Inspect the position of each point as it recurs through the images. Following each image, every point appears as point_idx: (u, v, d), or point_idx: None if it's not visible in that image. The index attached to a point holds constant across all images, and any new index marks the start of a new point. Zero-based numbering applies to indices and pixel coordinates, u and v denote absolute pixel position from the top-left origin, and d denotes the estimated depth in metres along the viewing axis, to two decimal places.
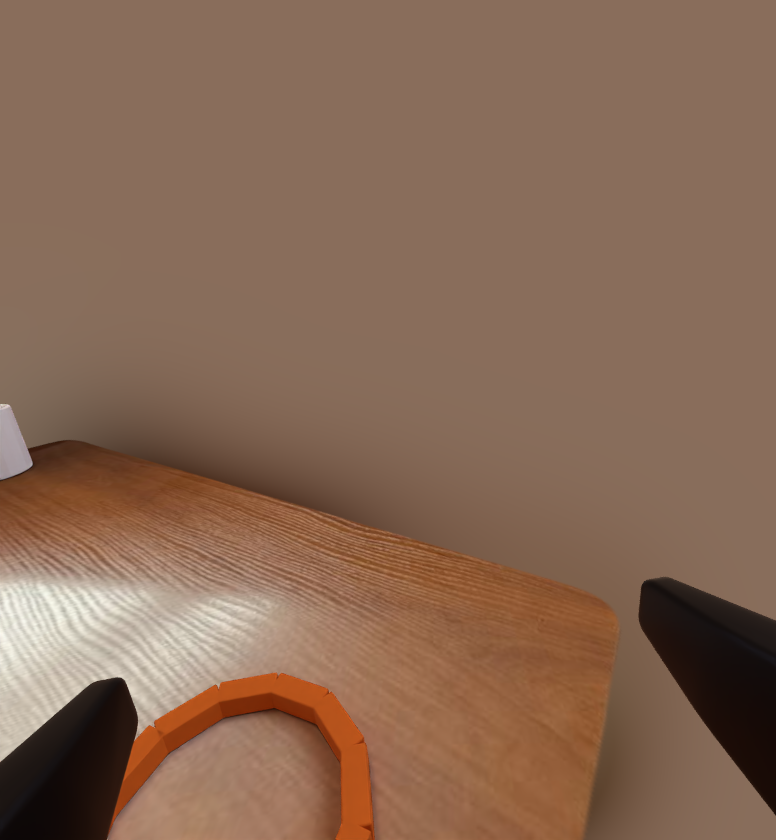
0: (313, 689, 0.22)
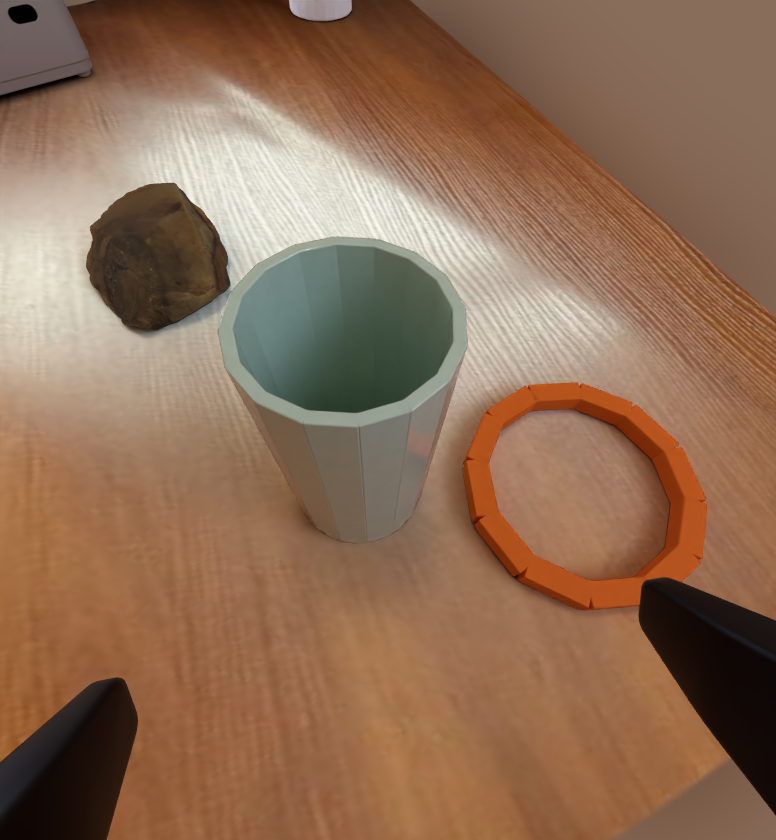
0: (665, 436, 0.23)
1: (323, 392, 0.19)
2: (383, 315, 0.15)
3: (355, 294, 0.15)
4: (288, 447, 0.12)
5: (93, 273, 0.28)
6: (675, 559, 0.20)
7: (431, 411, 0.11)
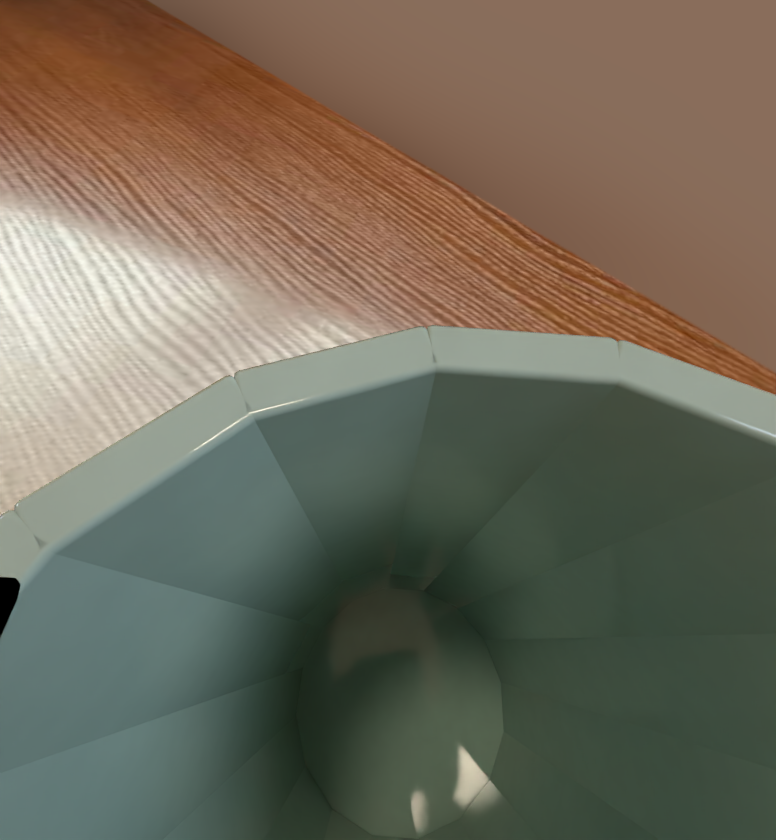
0: None
1: (338, 588, 0.09)
2: (530, 522, 0.05)
3: (459, 483, 0.04)
4: None
5: None
6: None
7: None
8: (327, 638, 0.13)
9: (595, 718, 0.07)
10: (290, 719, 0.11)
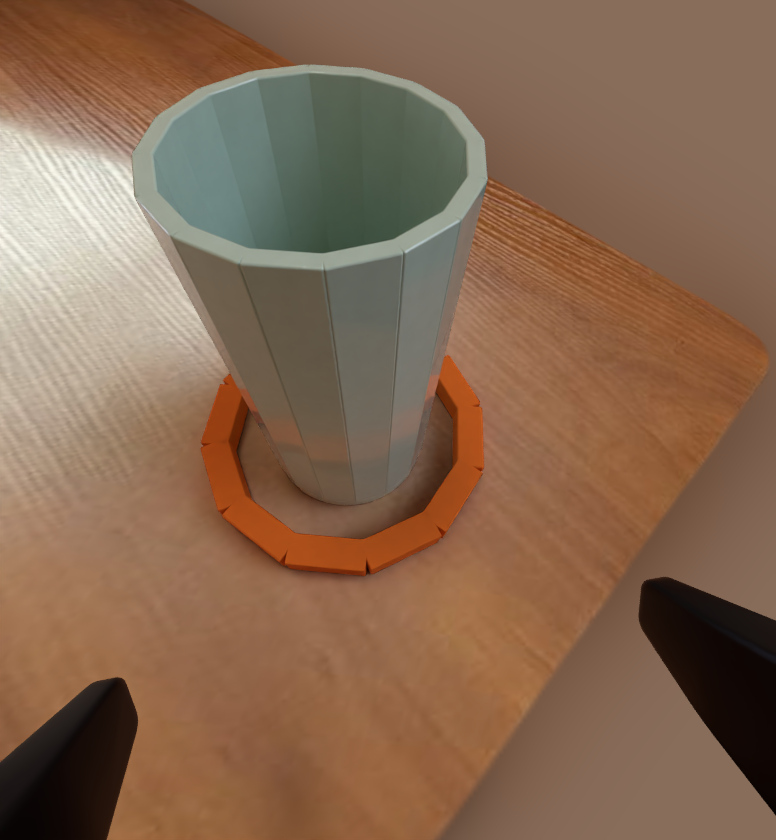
0: None
1: None
2: (374, 198, 0.12)
3: (338, 164, 0.11)
4: (234, 333, 0.08)
5: None
6: (455, 479, 0.17)
7: (434, 275, 0.08)
8: None
9: None
10: None
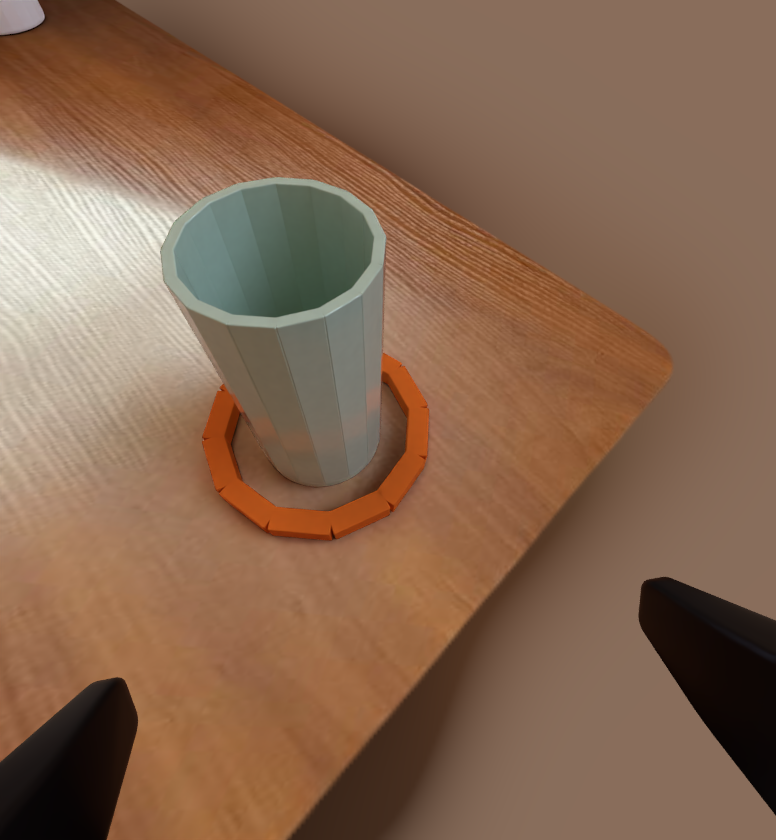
0: (389, 360, 0.25)
1: None
2: (328, 258, 0.17)
3: (300, 236, 0.16)
4: (225, 360, 0.13)
5: None
6: (403, 465, 0.22)
7: (350, 325, 0.12)
8: None
9: None
10: None
